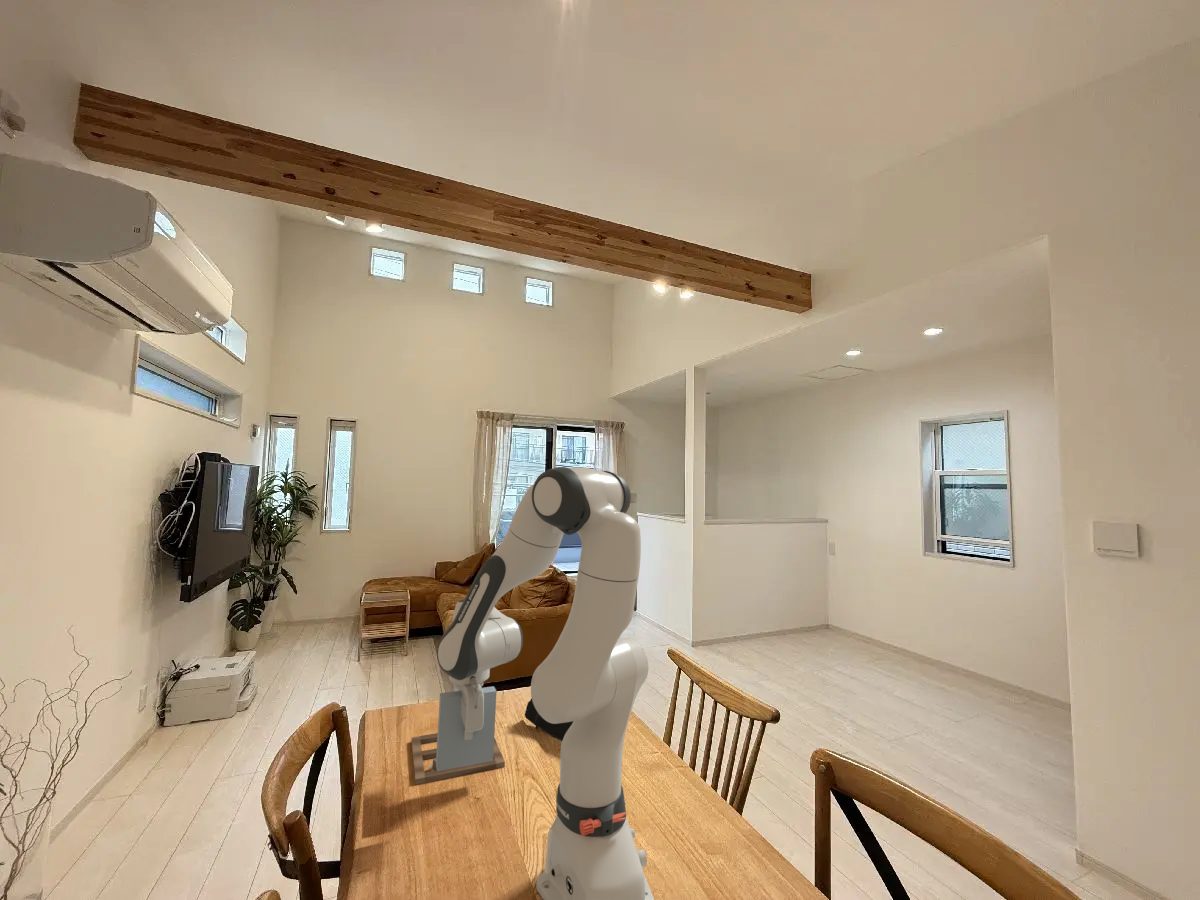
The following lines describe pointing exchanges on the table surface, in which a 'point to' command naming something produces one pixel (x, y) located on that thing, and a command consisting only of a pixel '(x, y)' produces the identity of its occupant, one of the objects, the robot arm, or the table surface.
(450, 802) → the table surface
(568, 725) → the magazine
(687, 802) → the table surface
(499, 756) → the rack
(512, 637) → the robot arm
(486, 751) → the sheet
